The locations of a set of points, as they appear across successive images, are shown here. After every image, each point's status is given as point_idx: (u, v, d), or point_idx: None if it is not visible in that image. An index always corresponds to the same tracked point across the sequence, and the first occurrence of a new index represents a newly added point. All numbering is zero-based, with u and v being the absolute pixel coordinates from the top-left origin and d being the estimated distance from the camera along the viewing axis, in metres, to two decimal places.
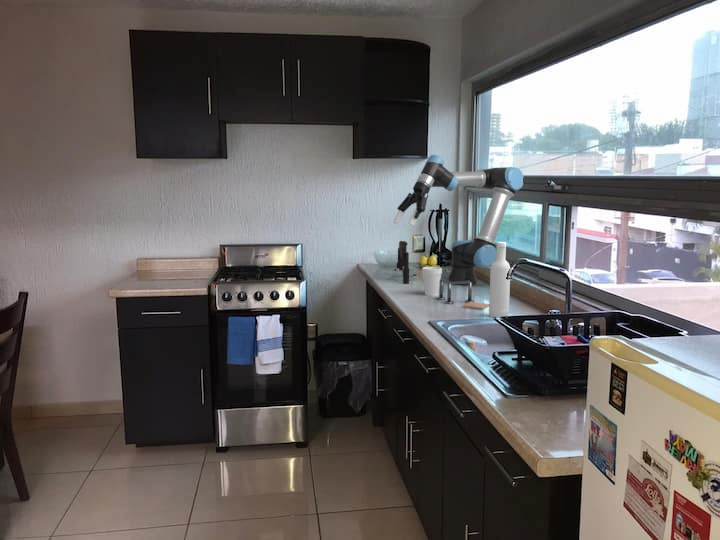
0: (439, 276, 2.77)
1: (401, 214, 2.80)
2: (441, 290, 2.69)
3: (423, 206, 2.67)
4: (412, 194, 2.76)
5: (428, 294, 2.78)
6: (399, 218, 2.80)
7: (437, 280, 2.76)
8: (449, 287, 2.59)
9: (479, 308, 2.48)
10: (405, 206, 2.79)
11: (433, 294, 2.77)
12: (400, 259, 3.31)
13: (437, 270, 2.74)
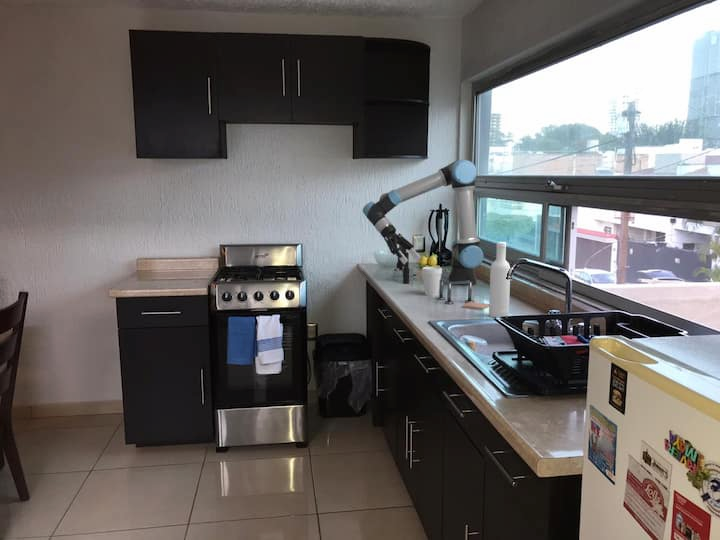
0: (439, 276, 2.77)
1: (412, 251, 2.90)
2: (441, 290, 2.69)
3: (391, 248, 2.78)
4: None
5: (428, 294, 2.78)
6: (415, 254, 2.89)
7: (437, 280, 2.76)
8: (449, 287, 2.59)
9: (479, 308, 2.48)
10: (405, 246, 2.90)
11: (433, 294, 2.77)
12: None
13: (437, 270, 2.74)
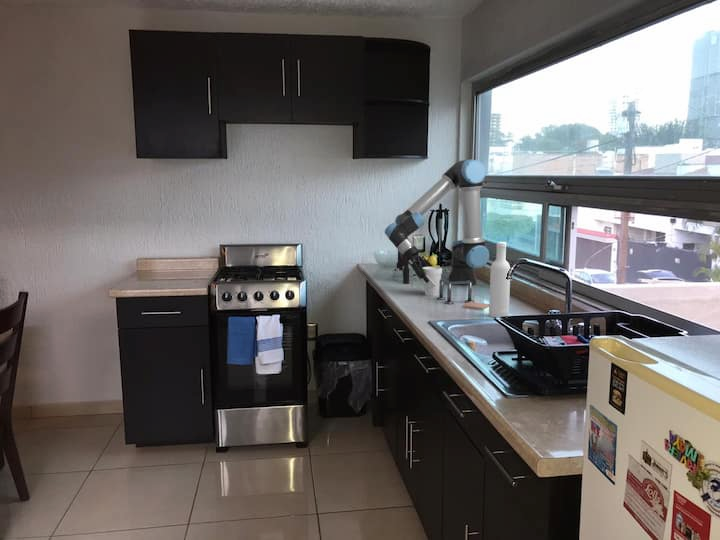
0: (439, 276, 2.76)
1: None
2: (441, 290, 2.69)
3: (417, 272, 2.74)
4: None
5: (428, 294, 2.78)
6: None
7: (437, 280, 2.76)
8: (449, 287, 2.59)
9: (479, 308, 2.48)
10: None
11: (433, 294, 2.77)
12: (400, 259, 3.31)
13: (437, 270, 2.74)
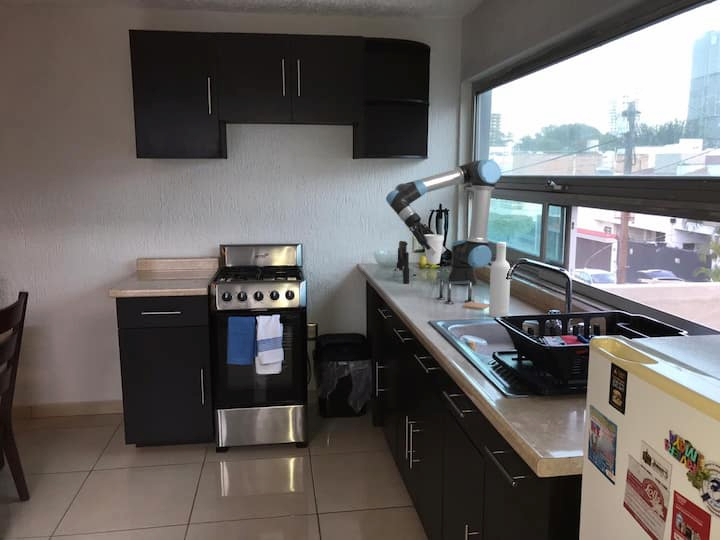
0: (441, 243, 2.71)
1: None
2: (441, 290, 2.69)
3: (419, 239, 2.69)
4: None
5: (429, 262, 2.72)
6: None
7: (439, 247, 2.71)
8: (449, 287, 2.59)
9: (479, 308, 2.48)
10: None
11: (434, 262, 2.72)
12: (400, 259, 3.31)
13: (439, 237, 2.69)
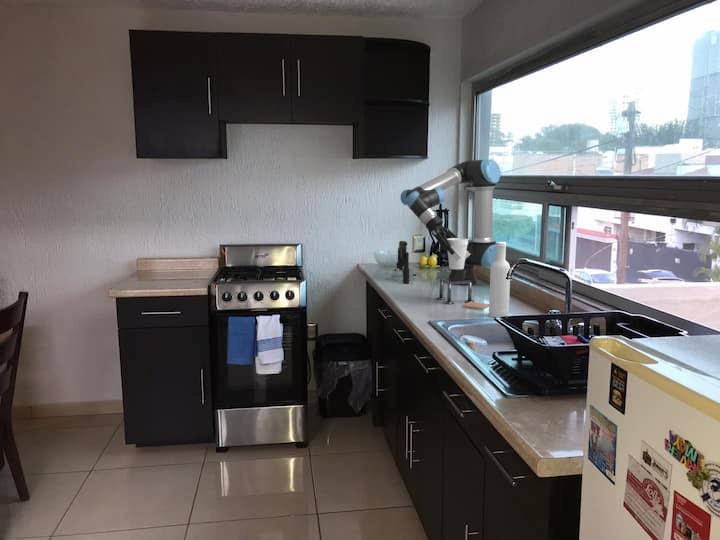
0: (465, 247, 2.55)
1: None
2: (441, 290, 2.69)
3: (442, 243, 2.53)
4: None
5: (453, 267, 2.57)
6: None
7: (463, 252, 2.55)
8: (449, 287, 2.59)
9: (479, 308, 2.48)
10: None
11: (458, 267, 2.56)
12: (400, 259, 3.31)
13: (463, 241, 2.53)
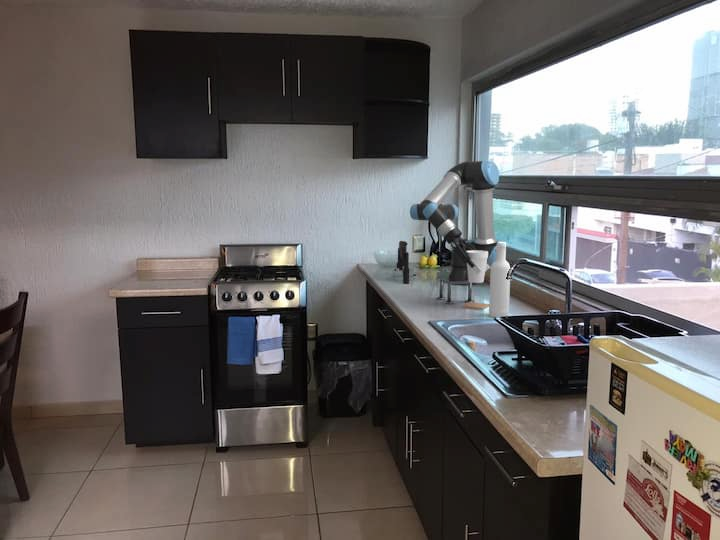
0: (486, 260, 2.47)
1: None
2: (441, 290, 2.69)
3: (462, 256, 2.45)
4: None
5: (473, 281, 2.49)
6: None
7: (483, 265, 2.47)
8: (449, 287, 2.59)
9: (479, 308, 2.48)
10: None
11: (478, 281, 2.48)
12: (400, 259, 3.31)
13: (483, 254, 2.45)
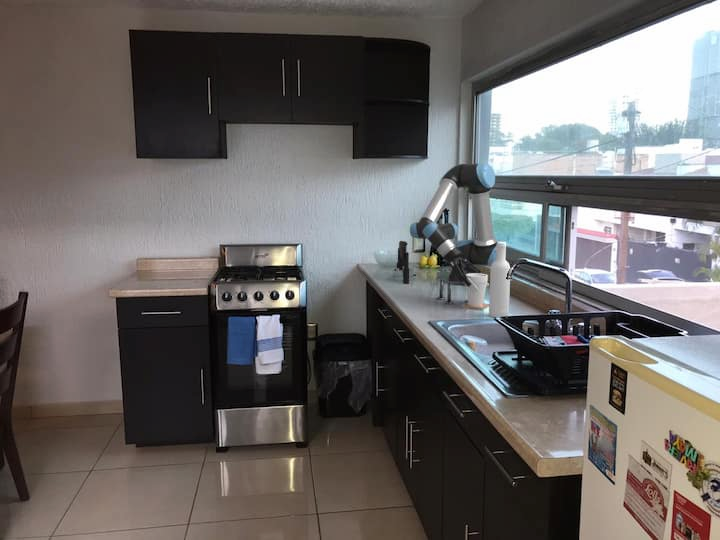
0: (485, 284, 2.49)
1: None
2: (441, 290, 2.69)
3: (459, 275, 2.45)
4: None
5: (472, 304, 2.50)
6: None
7: (483, 289, 2.49)
8: (449, 287, 2.59)
9: (479, 308, 2.48)
10: (471, 271, 2.58)
11: (478, 304, 2.50)
12: (400, 259, 3.31)
13: (483, 278, 2.47)
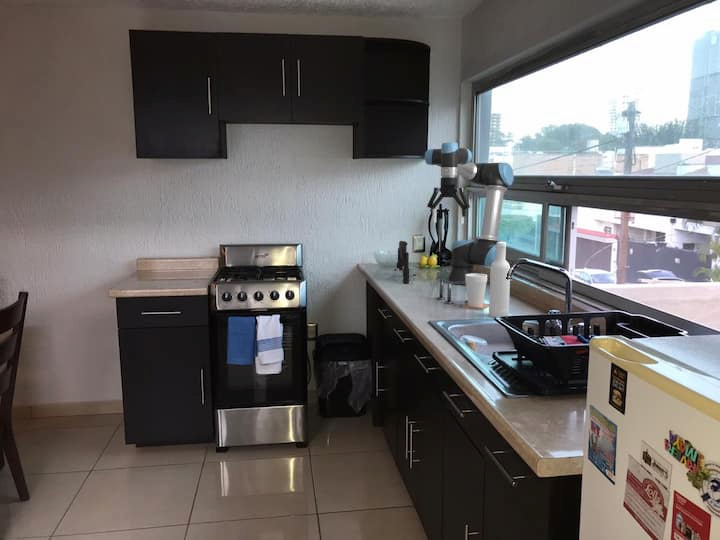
0: (485, 284, 2.49)
1: (435, 211, 2.73)
2: (441, 290, 2.69)
3: (467, 203, 2.64)
4: (443, 190, 2.67)
5: (472, 304, 2.50)
6: (435, 216, 2.73)
7: (482, 288, 2.49)
8: (449, 287, 2.59)
9: (479, 308, 2.48)
10: (437, 203, 2.71)
11: (478, 304, 2.50)
12: (400, 259, 3.31)
13: (483, 277, 2.47)
